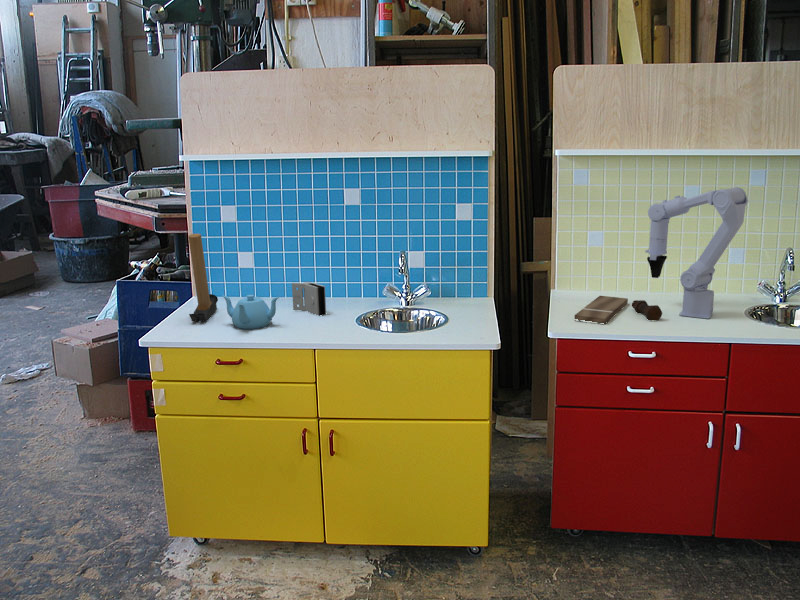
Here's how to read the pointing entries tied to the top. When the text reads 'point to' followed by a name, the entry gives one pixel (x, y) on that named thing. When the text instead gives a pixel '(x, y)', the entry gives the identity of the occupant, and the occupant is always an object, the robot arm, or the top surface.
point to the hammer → (201, 281)
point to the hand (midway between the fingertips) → (655, 277)
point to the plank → (602, 309)
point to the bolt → (647, 309)
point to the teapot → (251, 312)
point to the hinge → (309, 297)
